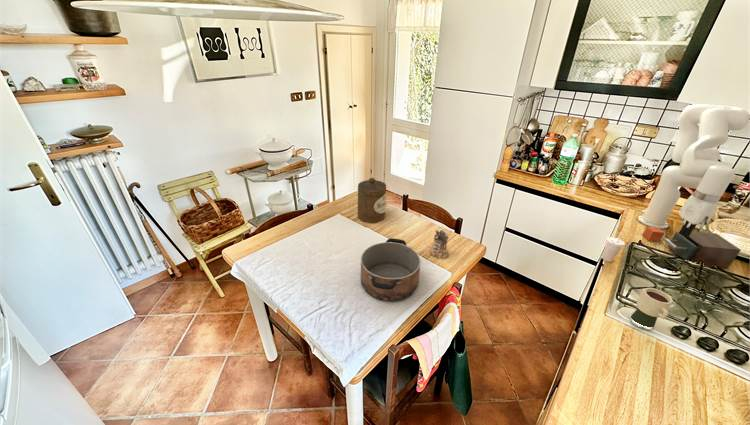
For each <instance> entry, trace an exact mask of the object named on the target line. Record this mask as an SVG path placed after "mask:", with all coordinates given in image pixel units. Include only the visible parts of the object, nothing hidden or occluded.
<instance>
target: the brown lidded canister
mask: <svg viewBox="0 0 750 425" xmlns="http://www.w3.org/2000/svg"><path fill="white" fill-rule="evenodd" d="M386 208H387V184H386V183H385V182H384V181H381V180H376V179H375V178H374V177H370V178H369V179H368V180H363V181H360V182H359V183H358V184H357V218H358V219H359V220H360V221H361V222H364V223H367V224H375V223H379V222H382V221H384V219H386Z"/></svg>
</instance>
